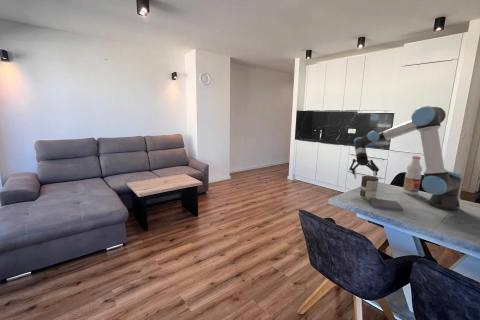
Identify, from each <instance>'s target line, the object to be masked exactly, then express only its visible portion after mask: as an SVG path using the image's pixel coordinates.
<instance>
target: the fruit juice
mask: <svg viewBox="0 0 480 320" xmlns="http://www.w3.org/2000/svg"><path fill="white" fill-rule="evenodd" d="M411 158H412V159H411V161H410V163H408V165H407V166H406V172H405V176H404V183H403V187H402V188H403V189H402V193H404V194H406V195H412V196H417V195H418V194H419V190H420V185H421V182H422V181H421V180H422V171H423V167H422V165H421V163H420V162H421V161H420V160H421V158H422V157H421V156H418V155H417V156H416V155H413V156H412V157H411Z"/></svg>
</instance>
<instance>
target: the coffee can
mask: <svg viewBox="0 0 480 320" xmlns="http://www.w3.org/2000/svg"><path fill="white" fill-rule="evenodd" d="M376 177H377V176H376ZM376 177H374V176H371V175H363V176H361V183H360V190H359V191H360V192H359V196H360V198H362V197H363V199H367V200H369V199H370V198H374V199H377V192H378V185H379V178H378V177H377V178H376Z"/></svg>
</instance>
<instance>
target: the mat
mask: <svg viewBox="0 0 480 320" xmlns="http://www.w3.org/2000/svg"><path fill="white" fill-rule="evenodd" d="M368 200H369V202H370V204H371V206H372V208H375V209H381V210H389V211H396V212H404V208H403V206H401V204H400V203H399V202H398V201H396V200H390V199H382V198H375V199H374V198H370V199H368Z"/></svg>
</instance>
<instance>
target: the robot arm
mask: <svg viewBox="0 0 480 320" xmlns="http://www.w3.org/2000/svg"><path fill="white" fill-rule="evenodd" d="M446 116H447V115H446V111H445V110H444V109H443V108H441V107H440V106H439V107H438V106H430V105H429V106H428V105H427V106H421V107H418V108H417V109H415V110H414V111H413V112H412V114H411V116H410V117H411V120H409V121H406V122H403V123H401V124H399V125H395V126H394V127H391V128H389V129H386V130H384V131H381V132H377V131H376V130H372V131H370V132H367V134H365V135H364V136H363V137H362V136H358V137H355V138H354V140H353V146H354V150H355V156H356V157H355V158H356V159H355V158H353V159H352V163H351V165H350V166H349V169H348V170H349V171H351V174H352V175H353V178H354V180H356V179H357V170H356V169H357V168H358V167H359V166H361V167H362V166H363V167H367V168H368V169H370V170H371V171H372V175H373V176H372V177H376V178H378V172H379V171H380V169H379V167H378V166H377V165H376V163H374V161H373V159H370V160H369V159H368V154H367V152H368V151H367V149H366V147H367V146H370V145H371V144H379V143H380V144H383V143H386V142H388V141H389V140H391V139H395V138H397V137H401V136H403V135H406V134H409V133H411V132H414V131H418V132H419V134H420V139H421V145H422V153H423V157H424V159H423V160H424V164H425V171H424V172H423V177H424V178H423V179H421V180H422V181H421V186H422V189H423V190H424V191H425V192H426V193H428V194H430V195H431V196H430V198H429V199H428V204H429V205H431V206H432V207H435V208H437V209H441V210H446V211H459V210H460V208H461V206H460V201H459V200H460V199H459V194H460V191H461V190H460V188H461V184H462V181H463V174H462V173H460V172H455V171H450V170H447V169H445V165H444V159H443V152H442V148H441V147H442V146H441V139H440V135H439V134H440V133H439V129H440V128H441V127H442V125H441V124H442V123H443V122H444V121H445V119H446V118H447V117H446ZM356 162H357V164H355V163H356Z"/></svg>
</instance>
